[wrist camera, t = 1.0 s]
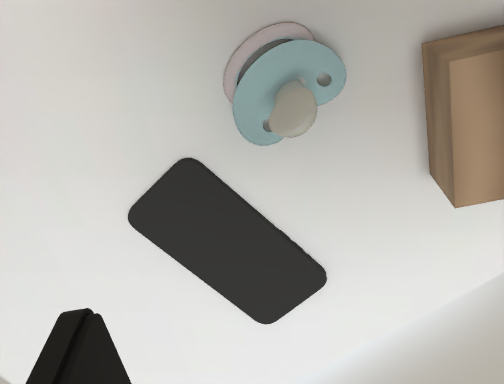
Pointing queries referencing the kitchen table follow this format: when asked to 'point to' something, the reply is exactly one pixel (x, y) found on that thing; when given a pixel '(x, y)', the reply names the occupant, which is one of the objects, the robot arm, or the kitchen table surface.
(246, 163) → the kitchen table surface
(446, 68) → the block
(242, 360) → the kitchen table surface
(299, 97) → the pacifier
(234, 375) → the kitchen table surface
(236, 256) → the phone
